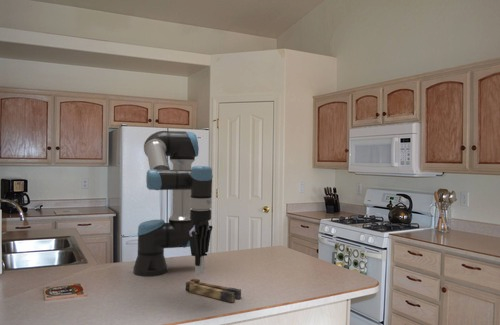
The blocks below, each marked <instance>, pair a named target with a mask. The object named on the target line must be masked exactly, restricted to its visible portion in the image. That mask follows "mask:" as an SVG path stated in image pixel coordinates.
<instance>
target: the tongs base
mask: <svg viewBox="0 0 500 325" xmlns="http://www.w3.org/2000/svg"><path fill="white" fill-rule="evenodd" d="M190 281H194V282H195V284H199V285H203V286H208V287H212V288H216V289H221V290H226V291H230V292H234V293H235V300H240V299H241V298H242V289H241V288H240V289H239V288H235V287H228V286H222V285H218V284H217V285H216V284H211V283H207V282H201V281H200V279H198V278H191V279H190ZM189 290H190V284H187V283H186V282H185V291H186V292H189Z"/></svg>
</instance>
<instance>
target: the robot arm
mask: <svg viewBox="0 0 500 325" xmlns="http://www.w3.org/2000/svg"><path fill="white" fill-rule="evenodd" d="M143 152H144V154H145V156H146V157H147V161H148V165H149V169H148V170H147V171H146V178H145V181H146V182H145V183H146V188H147V189H148V190H149V191H150V190H152V191H170V190H171V191H172V198H171V199H172V203H171V207H172V209H171V210H172V213H171V216H169V217H168V222H165V220H164V219H163V218H162V219H150V220H146V221H145V220H144V221H142V222H141V223H139V225H138V228H137V256H136V260H135V262H134V265H133V272H132V273H133V274H134V275H136V276H140V277H156V276H162V275H164V274H166V273H167V272H168V264H167V261H166V256H165V252H164V251H165V250H164V249H175V248H176V249H177V248H178V249H179V248H183V249H185V248H188V247H189V248H190V254H191V256H193V257H194V268H195V270H194V274H195V275H199V276H203V275H204V273H205V272H204V271H205V270H204V269H205V257H207V256H208V253H209V246H210V241H211V234H212V231H213V225H210V222H209V221H211V219H212V210H211V208H212V203H213V202H212V194H213V191H212V190H213V168H212V167H211V166H207V165H194V166H192V164H193V163H194V162H195V160H196V159H195V158H196V157H198V156H199V152H200V151H199V142H198V137H197V135H196V134H195V133H194V132H193V131H186V130H185V131H180V130H179V131H178V130H177V131H176V130H174V131H173V130H159V131H156V132H154V133H152V134H150V135H149V136H148V137H147V138H146V140H145V141H144V143H143ZM167 157H169V160H168V158H167ZM169 161H170V162H171V163H172V169H171V168H170V164H169Z"/></svg>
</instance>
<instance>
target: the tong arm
mask: <svg viewBox="0 0 500 325" xmlns="http://www.w3.org/2000/svg"><path fill="white" fill-rule="evenodd" d="M190 280H191V279H190ZM190 280H187V281H185V284H186V283H187V284H190V290H189V291H188V292H189V293H193V294H197V295H201V296H205V297H209V298H213V299H217V300H220V301H225V302H229V303H233V302H235V301H236V299H235V293H234V292H230V291H226V290H221V289H216V288H212V287H208V286H203V285H199V284H195V282H194V281H190Z"/></svg>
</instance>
